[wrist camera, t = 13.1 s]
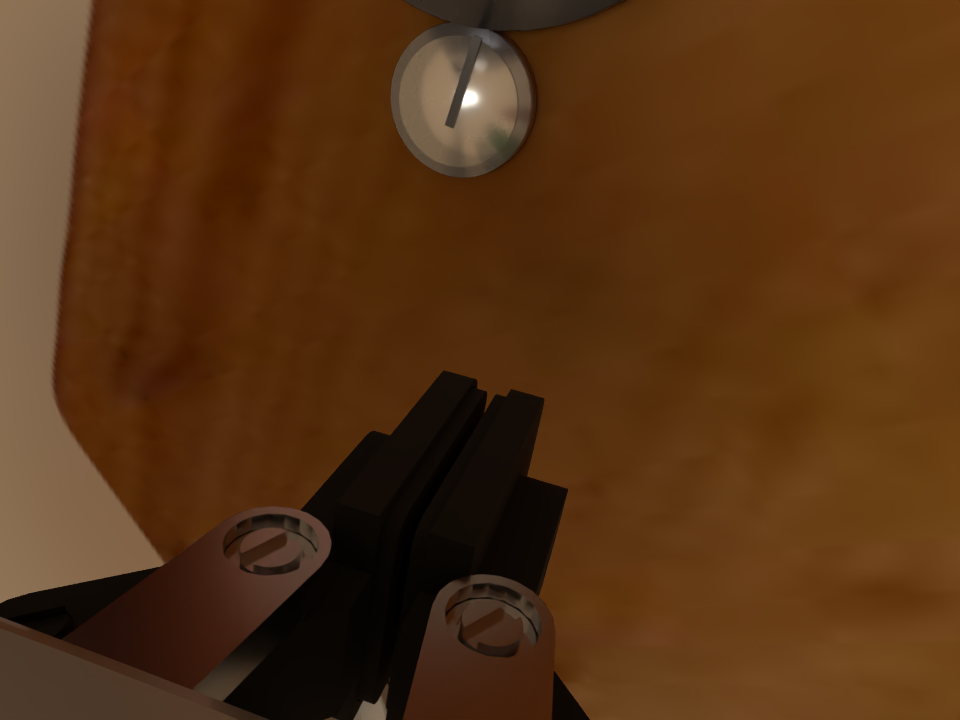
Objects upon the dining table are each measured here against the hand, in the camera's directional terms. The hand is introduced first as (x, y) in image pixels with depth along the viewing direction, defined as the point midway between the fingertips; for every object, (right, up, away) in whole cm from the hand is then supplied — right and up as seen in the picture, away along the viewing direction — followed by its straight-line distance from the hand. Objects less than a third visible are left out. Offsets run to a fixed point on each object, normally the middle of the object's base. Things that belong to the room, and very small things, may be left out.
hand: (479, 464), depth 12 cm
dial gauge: (0, +11, +14) cm, 18 cm away
